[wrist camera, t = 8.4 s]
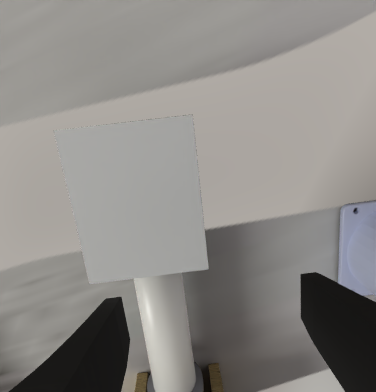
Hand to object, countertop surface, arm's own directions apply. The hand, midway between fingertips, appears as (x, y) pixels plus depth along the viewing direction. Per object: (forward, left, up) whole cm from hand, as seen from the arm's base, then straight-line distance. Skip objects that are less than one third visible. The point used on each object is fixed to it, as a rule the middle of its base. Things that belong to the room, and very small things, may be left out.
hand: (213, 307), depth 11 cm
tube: (+3, +7, -9) cm, 12 cm away
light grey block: (+3, -3, -10) cm, 11 cm away
